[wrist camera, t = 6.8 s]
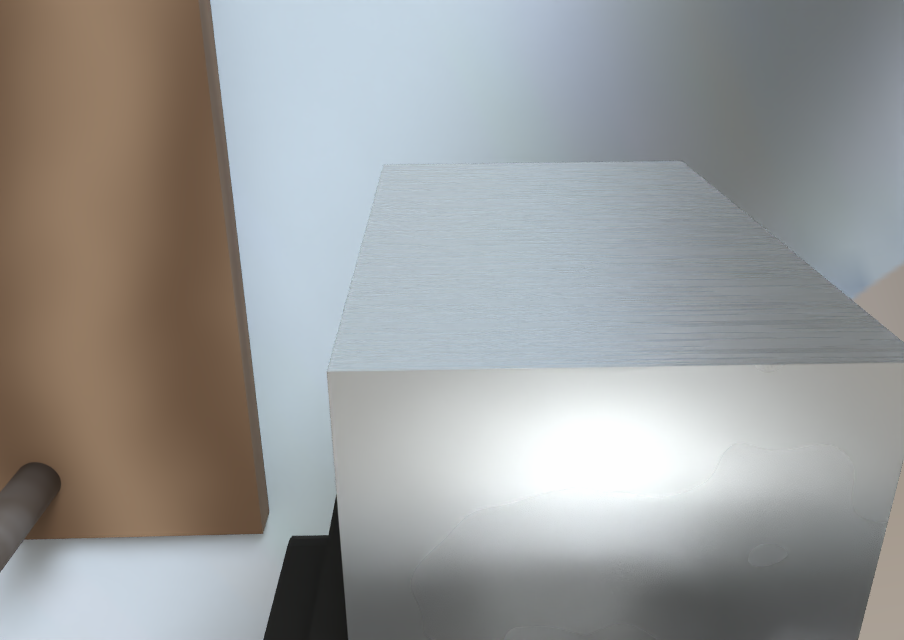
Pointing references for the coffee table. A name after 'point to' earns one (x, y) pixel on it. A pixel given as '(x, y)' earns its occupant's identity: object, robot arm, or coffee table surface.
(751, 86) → the coffee table surface
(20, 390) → the pin tray
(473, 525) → the block
